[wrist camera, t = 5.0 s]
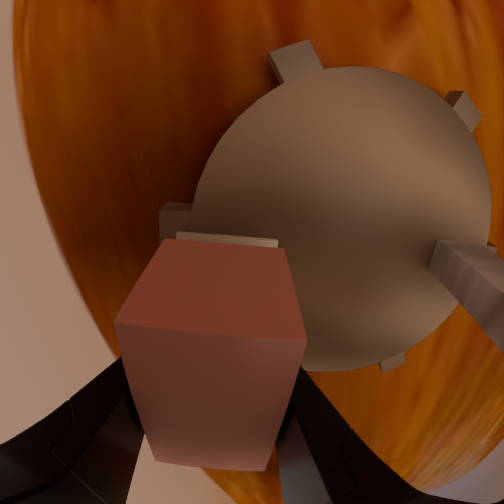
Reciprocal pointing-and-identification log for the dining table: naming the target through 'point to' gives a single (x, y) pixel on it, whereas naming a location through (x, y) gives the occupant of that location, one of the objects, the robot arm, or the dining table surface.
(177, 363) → the dusty pink block
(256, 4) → the dining table surface
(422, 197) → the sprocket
